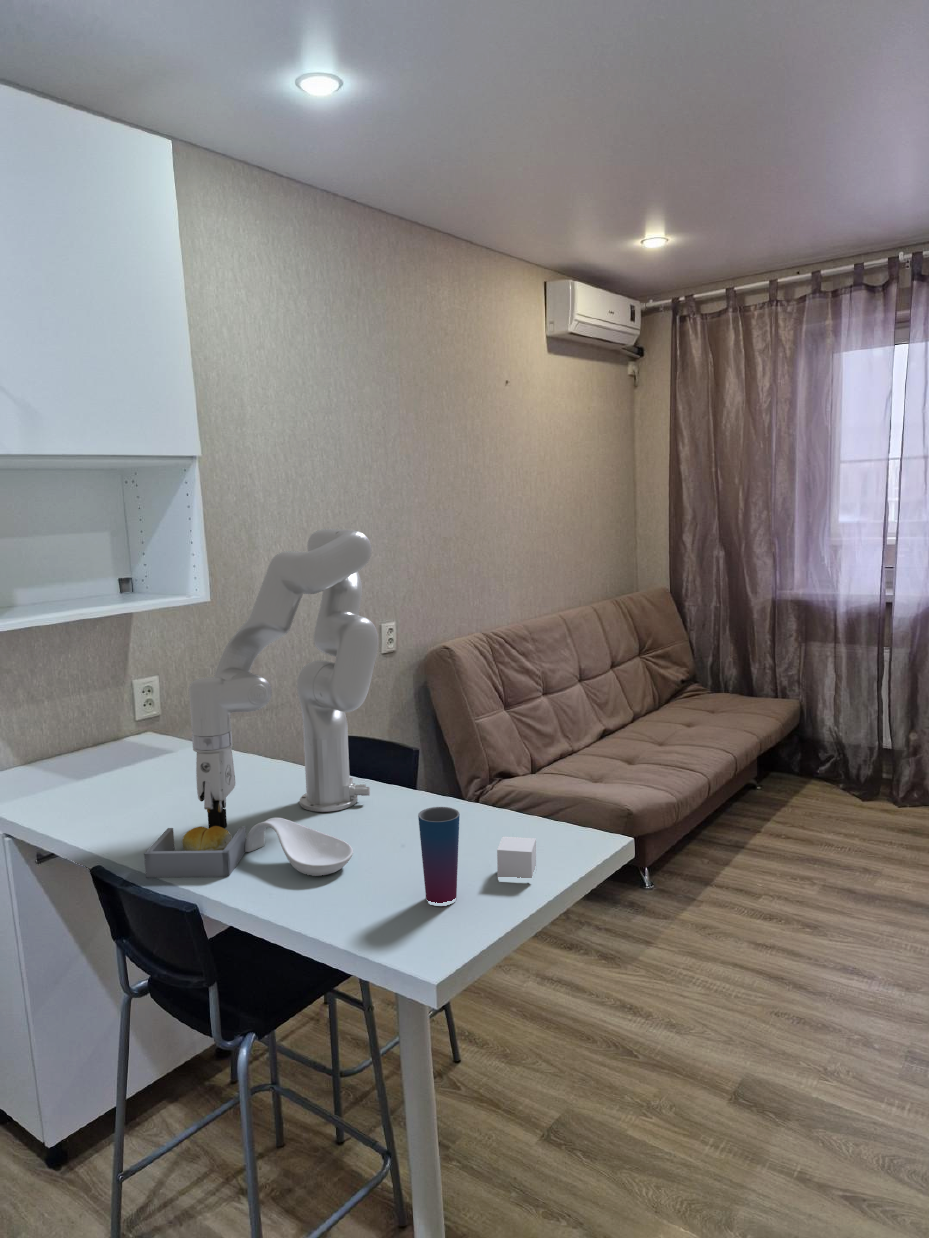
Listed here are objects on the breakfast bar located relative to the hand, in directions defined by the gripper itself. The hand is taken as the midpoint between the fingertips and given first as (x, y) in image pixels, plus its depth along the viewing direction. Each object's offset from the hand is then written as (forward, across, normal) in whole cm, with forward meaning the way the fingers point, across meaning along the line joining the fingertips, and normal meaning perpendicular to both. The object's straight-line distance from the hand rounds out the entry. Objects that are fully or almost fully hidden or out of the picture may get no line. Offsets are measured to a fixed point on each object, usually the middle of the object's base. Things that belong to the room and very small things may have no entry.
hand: (217, 829), depth 176 cm
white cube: (+2, -19, -59) cm, 62 cm away
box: (+1, -13, 0) cm, 13 cm away
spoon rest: (+2, -13, -19) cm, 23 cm away
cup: (+2, -28, -46) cm, 54 cm away
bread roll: (+2, -5, 0) cm, 6 cm away
